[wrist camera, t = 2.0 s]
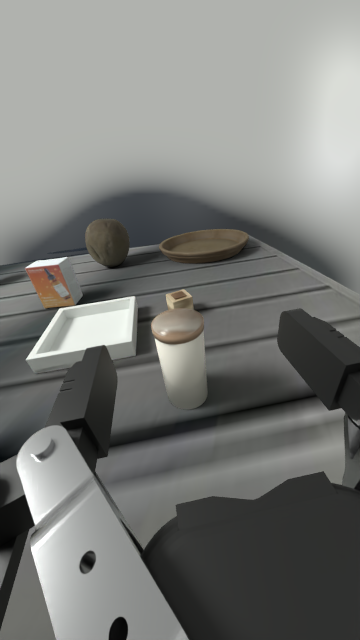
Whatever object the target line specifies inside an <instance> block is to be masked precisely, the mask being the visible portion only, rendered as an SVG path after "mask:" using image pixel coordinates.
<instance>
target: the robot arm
mask: <svg viewBox="0 0 360 640" xmlns="http://www.w3.org/2000/svg"><path fill="white" fill-rule="evenodd" d="M277 342H278V346H279V349H280V351H281V352H282V353H283V355H284V356H285V357H286V358H287V359H288V361H289V362H290V363H291V364H292V366H293V367H294V368H295V369H296V371H297V372H298V373H299V374H300V375H301V377H302V378H303V379H304V380H305V382H306V383H307V384H308V385H309V386H310V388H311V389H312V390H313V391H314V393H315V394H316V395H317V396H318V398H319V399H320V400H321V401H322V402H323V404H324V405H325V406H326V407H327V409H328V410H329V411H330V410H335V409H339V408H342V409H343V410H344V411H345V412H346V413H345V416H344V437H345V472H344V476H343V481H342V485H339V484H334V483H330V481H329V479H328V478H327V476H326V475H325V473H324V471H323V472H319V473H314V474H310V475H305V476H301V477H297V478H292V479H288V480H286V481H285V482H283V483H282V484H280V485H279V486H277V487H275V488H274V489H272V490H271V491H269V492H268V493H266V494H264V495H263V496H261V497H260V498H258V499H255V500H247V499H236V498H225V497H215V496H212V497H208V498H203V499H199V500H194V501H190V502H186V503H181V504H177V505H176V511H177V516H176V517H175V518H173V519H171V520H170V521H169V522H167V523H166V524H165V525H164V526H163V527H162V528H161V529H160V530H159V531H158V532H157V533H156V534H155V535H154V536H153V538H152V539H151V540H150V542H149V543H148V544H147V546H146V547H145V549H144V548H143V546H142V545H141V543H140V541H139V540H138V538H137V537H136V535H135V533H134V532H133V530H132V529H131V527H130V526H129V524H128V523H127V521H126V520H125V518H124V517H123V515H122V514H121V512H120V510H119V509H118V507H117V505H116V504H115V502H114V501H113V499H112V497H111V496H110V494H109V492H108V491H107V489H106V488H105V486H104V484H103V483H102V481H101V480H100V478H99V476H98V475H97V473H96V472H95V468H96V462H97V459H99V458H103V457H107V456H108V449H109V442H110V434H111V427H112V419H113V412H114V404H115V397H116V389H117V373H116V369H115V367H114V364H113V362H112V359H111V357H110V354H109V352H108V349H107V347H106V346H105V345H101V346H95V347H90V348H86V350H85V353H84V355H83V358H82V361H78V362H75V364H74V365H73V366H72V367H71V368H70V369H69V370H68V372H67V374H66V376H65V379H64V381H63V384H62V386H61V389H60V393H59V394H58V396H57V398H56V401H55V403H54V406H53V408H52V411H51V413H50V416H49V418H48V421H47V423H46V425H45V428H44V429H42V430H40V431H38V432H37V433H35V434H34V435H33V436H31V437H30V438H29V439H28V440H27V441H26V443H25V444H24V445H23V446H22V448H21V450H20V451H19V454H18V455H16V456H14V457H12V458H10V459H8V460H6V461H4V462H2V463H0V629H1V626H2V622H3V619H4V615H5V612H6V608H7V605H8V601H9V598H10V594H11V591H12V588H13V584H14V581H15V577H16V574H17V570H18V567H19V563H20V560H21V556H22V553H23V549H24V546H25V542H26V539H27V535H28V532H29V529H30V528H32V527H33V526H35V529H36V530H35V532H34V533H33V534H32V535H31V538H30V544H31V550H32V554H33V557H34V561H35V564H36V568H37V572H38V575H39V579H40V582H41V586H42V589H43V593H44V597H45V600H46V604H47V607H48V611H49V614H50V618H51V622H52V625H53V629H54V632H55V636H56V639H57V640H360V347H359V346H357V345H356V344H355V343H353V342H352V341H351V340H349V339H348V338H347V337H344V335H343V334H341V333H340V332H339V331H336V329H335V328H334V327H332V326H331V325H330V324H328V323H327V322H325V321H322V320H320V319H318V318H315V317H311V316H310V315H309V314H308V313H306V312H305V311H304V310H302V309H294V310H289V311H284V312H282V313H281V316H280V323H279V330H278V338H277Z"/></svg>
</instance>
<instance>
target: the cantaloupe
mask: <svg viewBox="0 0 360 640" xmlns="http://www.w3.org/2000/svg"><path fill="white" fill-rule="evenodd" d="M85 241H86V247H87V249H88V252H89V253H90V255H91V256H92V257H93V259H94V260H96V261H97V262H98V263H100V264H102V265H104V266H109V267H115V266H118V265H120V264H121V263H122V262H123V261H124V260H125V258H126V257H127V255H128V251H129V236H128V233H127V230H126V229H125V227H124V226H123V225H122V224H121V223H120V222H118V221H117V220H115V219H98V220H95V221H93V222H92V223H90V224H89V226H88V228H87V230H86V234H85Z"/></svg>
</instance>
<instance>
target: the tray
mask: <svg viewBox="0 0 360 640" xmlns="http://www.w3.org/2000/svg"><path fill="white" fill-rule="evenodd" d="M137 319H138V306H137V302H136V298H135V296H133V297H127V298H121V299H115V300H109V301H103V302H97V303H91V304H85V305H79V306H73V307H67V308H61V309H59V310H58V312H57V313H56V315H55V316H54V318H53V319H52V321H51V323H50V324H49V326H48V327H47V329H46V330H45V332H44V333H43V335H42V336H41V338H40V339H39V341H38V342H37V344H36V345H35V347H34V348H33V350H32V351H31V353H30V354H29V356H28V357H27V359H26V361H27V362H28V364H29V365H30V367H31V368H32V370H33V371H34V373H35V374H38V373H43V372H49V371H54V370H60V369H65V368H71V367H72V366H73V365H74V364H75V362H78V361H82V358H83V355H84V353H85V350H86V348H90V347H95V346H101V345H105V346H106V347H107V349H108V352H109V354H110V357H111V359H112V360H115V359H120V358H126V357H131V356H136V341H137Z"/></svg>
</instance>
